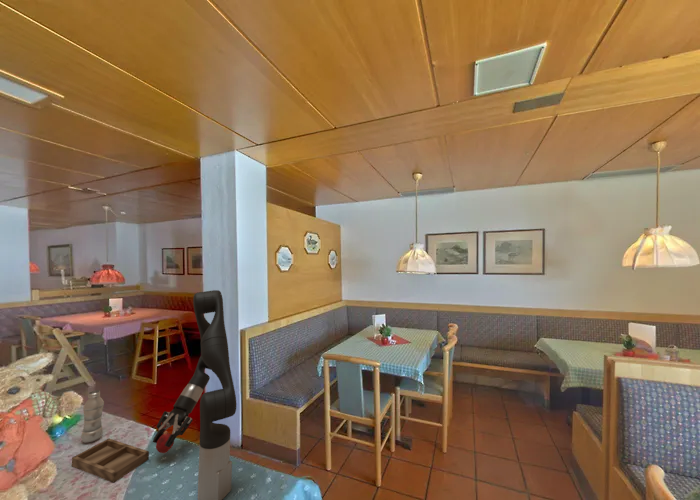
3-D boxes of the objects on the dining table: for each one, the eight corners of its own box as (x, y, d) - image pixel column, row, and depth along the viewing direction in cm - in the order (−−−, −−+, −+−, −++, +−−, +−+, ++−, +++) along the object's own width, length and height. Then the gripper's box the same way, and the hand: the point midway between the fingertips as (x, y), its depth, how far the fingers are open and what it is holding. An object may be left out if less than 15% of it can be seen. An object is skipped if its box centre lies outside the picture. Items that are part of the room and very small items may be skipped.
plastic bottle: (84, 437, 120) (87, 390, 120) (104, 433, 122) (107, 387, 123) (77, 447, 114) (80, 397, 114) (99, 442, 116) (101, 393, 117)
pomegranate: (164, 459, 104) (165, 437, 104) (151, 457, 105) (152, 435, 106) (177, 449, 110) (177, 428, 110) (165, 447, 111) (165, 426, 111)
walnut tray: (148, 459, 107) (148, 451, 107) (113, 482, 96) (114, 473, 96) (108, 445, 115) (108, 438, 115) (71, 466, 103) (72, 457, 103)
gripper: (170, 391, 118) (140, 437, 106) (197, 397, 113) (168, 445, 101) (181, 398, 122) (153, 443, 111) (207, 404, 118) (181, 451, 106)
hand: (160, 444), depth 106 cm, fingers closed on pomegranate, 5 cm apart
